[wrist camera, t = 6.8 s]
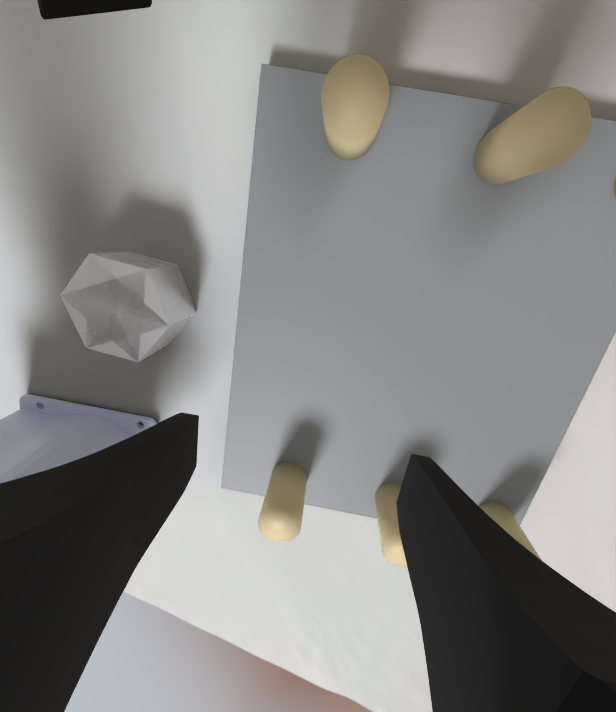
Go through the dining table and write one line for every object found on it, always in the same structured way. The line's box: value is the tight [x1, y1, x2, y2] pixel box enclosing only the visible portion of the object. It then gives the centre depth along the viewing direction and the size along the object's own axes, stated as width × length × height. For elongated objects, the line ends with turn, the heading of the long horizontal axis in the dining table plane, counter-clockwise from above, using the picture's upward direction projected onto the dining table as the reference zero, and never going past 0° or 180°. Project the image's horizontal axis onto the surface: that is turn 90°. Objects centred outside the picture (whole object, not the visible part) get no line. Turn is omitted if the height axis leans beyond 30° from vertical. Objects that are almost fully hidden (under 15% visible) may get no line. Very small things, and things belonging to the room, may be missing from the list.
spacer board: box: [221, 54, 616, 566], centre depth 17 cm, size 20×24×5 cm
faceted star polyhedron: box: [60, 251, 196, 362], centre depth 19 cm, size 6×5×4 cm
